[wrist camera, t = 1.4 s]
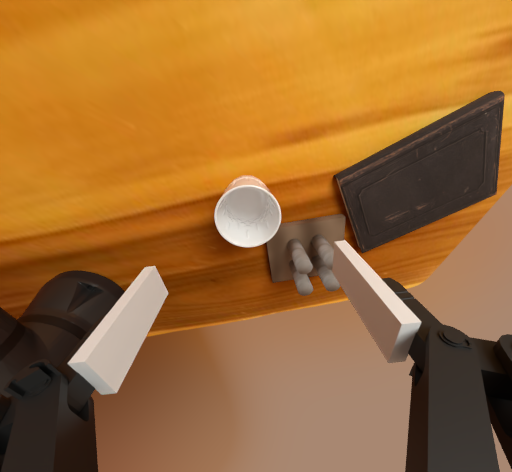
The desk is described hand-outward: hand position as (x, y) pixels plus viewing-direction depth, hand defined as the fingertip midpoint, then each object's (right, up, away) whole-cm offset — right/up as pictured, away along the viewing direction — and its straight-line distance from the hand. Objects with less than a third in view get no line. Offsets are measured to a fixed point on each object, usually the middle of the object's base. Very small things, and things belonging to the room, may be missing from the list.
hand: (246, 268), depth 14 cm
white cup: (-1, +9, +17) cm, 20 cm away
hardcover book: (+27, +12, +18) cm, 35 cm away
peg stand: (+10, 0, +22) cm, 24 cm away
